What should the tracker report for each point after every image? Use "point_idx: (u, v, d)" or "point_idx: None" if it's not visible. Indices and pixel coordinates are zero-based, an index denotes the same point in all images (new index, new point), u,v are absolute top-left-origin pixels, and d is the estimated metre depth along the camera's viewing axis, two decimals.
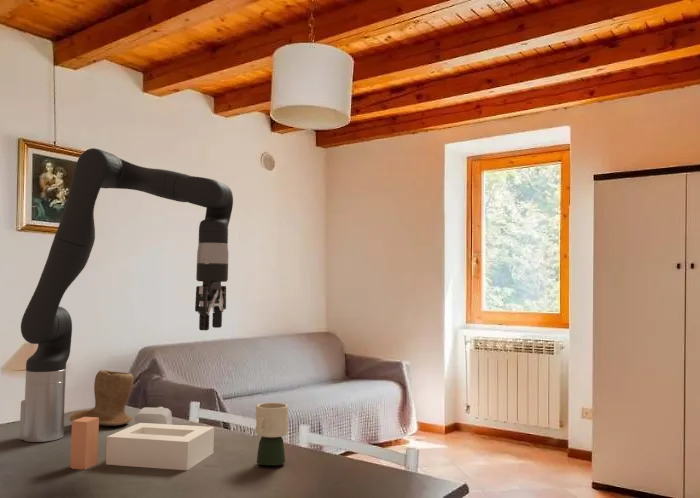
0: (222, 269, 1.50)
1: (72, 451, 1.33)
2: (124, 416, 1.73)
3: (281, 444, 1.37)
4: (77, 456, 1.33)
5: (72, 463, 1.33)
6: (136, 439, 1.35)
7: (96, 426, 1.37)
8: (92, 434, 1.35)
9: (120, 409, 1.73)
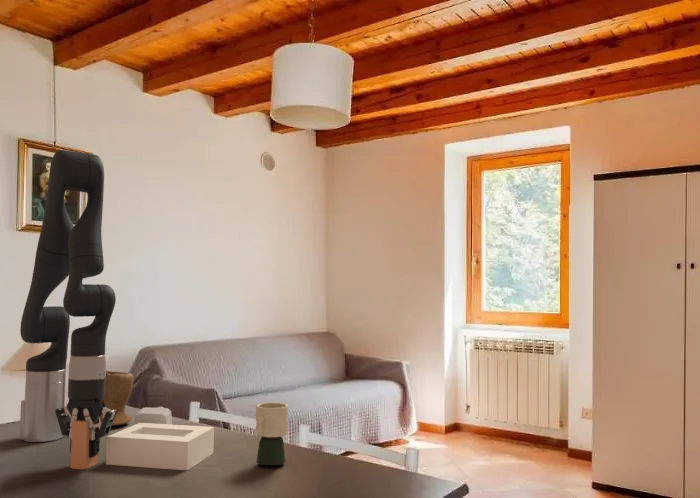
0: None
1: (72, 451, 1.33)
2: (124, 416, 1.73)
3: (281, 444, 1.37)
4: (77, 456, 1.33)
5: (72, 463, 1.33)
6: (136, 439, 1.35)
7: None
8: None
9: (120, 409, 1.73)
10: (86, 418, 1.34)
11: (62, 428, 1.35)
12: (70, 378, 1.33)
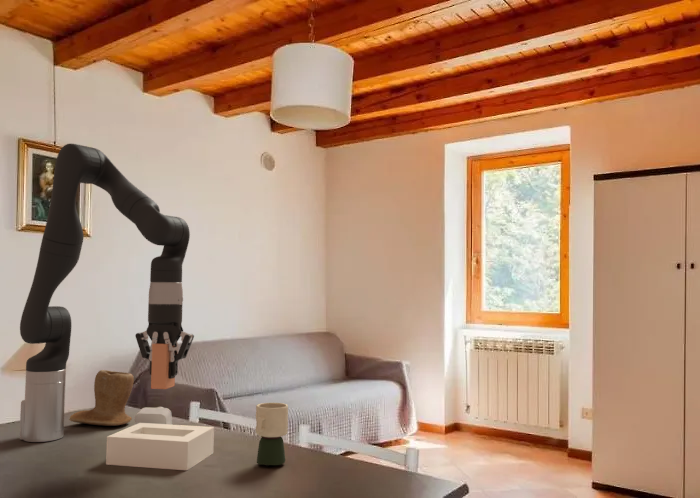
0: None
1: (153, 372, 1.40)
2: (124, 416, 1.73)
3: (281, 444, 1.37)
4: (158, 376, 1.40)
5: (153, 383, 1.40)
6: (136, 439, 1.35)
7: None
8: None
9: (120, 409, 1.73)
10: (166, 341, 1.41)
11: (142, 351, 1.42)
12: (151, 303, 1.40)
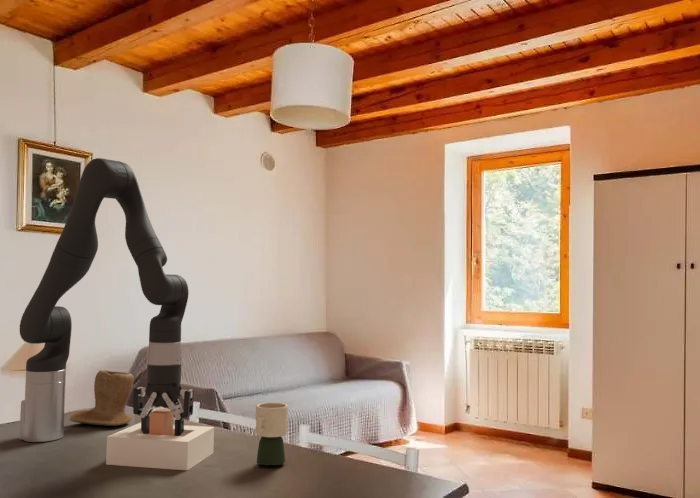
0: None
1: None
2: (124, 416, 1.73)
3: (281, 444, 1.37)
4: None
5: None
6: (136, 439, 1.35)
7: (171, 418, 1.43)
8: (168, 425, 1.41)
9: (120, 409, 1.73)
10: (167, 401, 1.40)
11: (135, 407, 1.42)
12: (150, 363, 1.40)
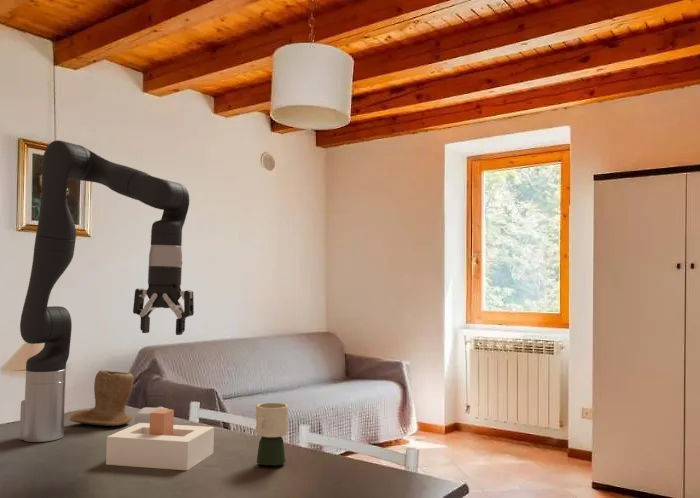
0: None
1: None
2: (124, 416, 1.73)
3: (281, 444, 1.37)
4: None
5: None
6: (136, 439, 1.35)
7: (171, 418, 1.43)
8: (168, 425, 1.41)
9: (120, 409, 1.73)
10: (167, 302, 1.45)
11: (135, 307, 1.47)
12: (151, 265, 1.45)
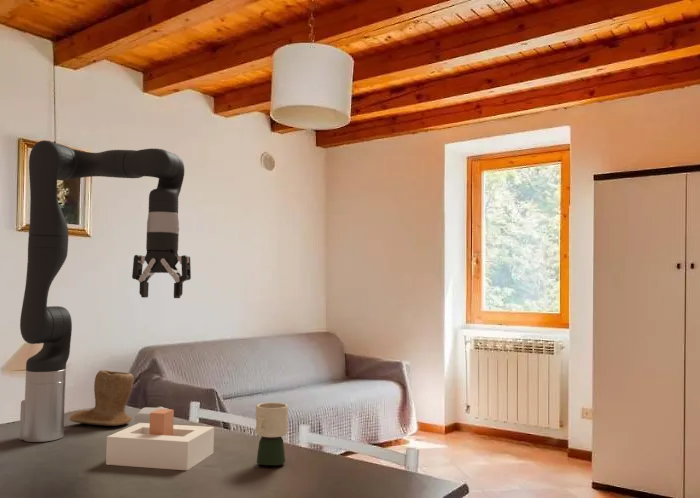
0: None
1: None
2: (124, 416, 1.73)
3: (281, 444, 1.37)
4: None
5: None
6: (136, 439, 1.35)
7: (171, 418, 1.43)
8: (168, 425, 1.41)
9: (120, 409, 1.73)
10: (165, 266, 1.51)
11: (134, 272, 1.53)
12: (149, 231, 1.50)
